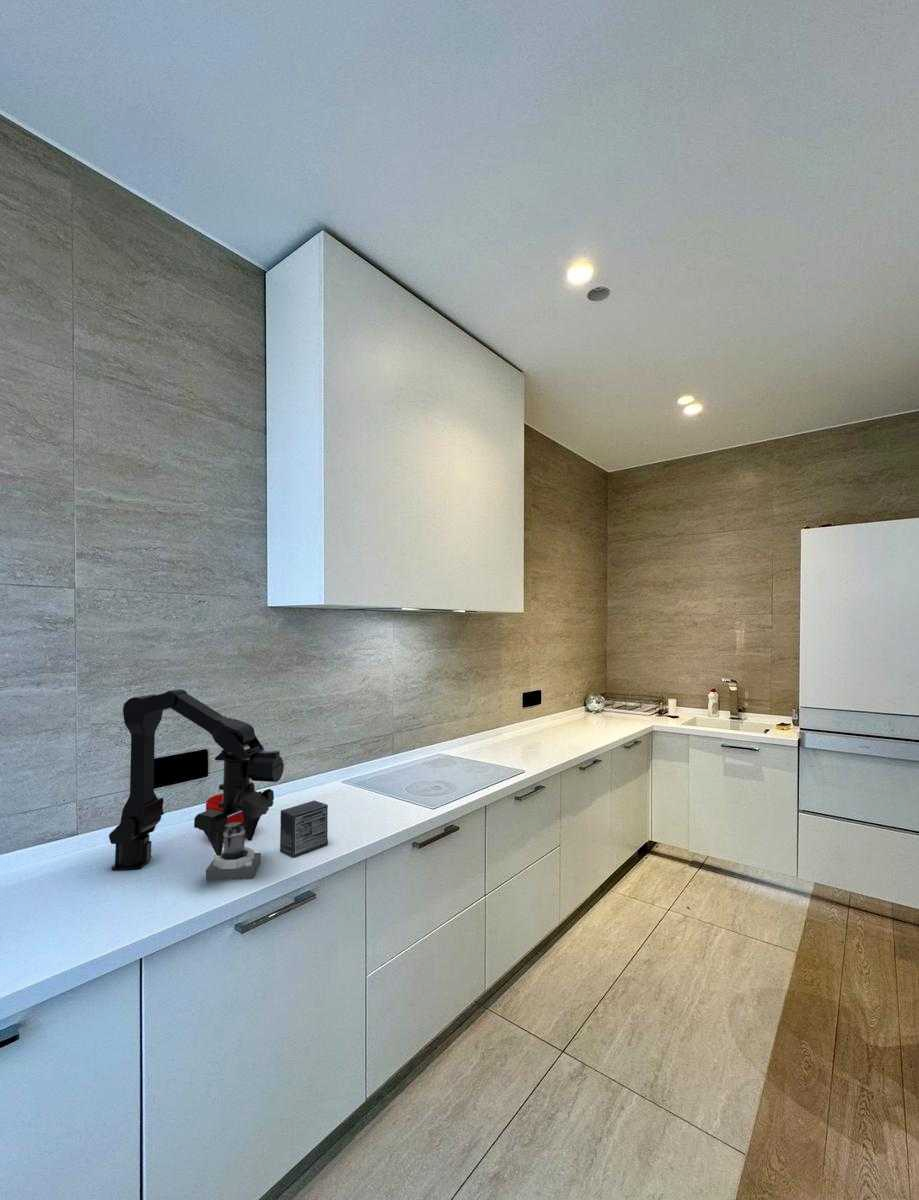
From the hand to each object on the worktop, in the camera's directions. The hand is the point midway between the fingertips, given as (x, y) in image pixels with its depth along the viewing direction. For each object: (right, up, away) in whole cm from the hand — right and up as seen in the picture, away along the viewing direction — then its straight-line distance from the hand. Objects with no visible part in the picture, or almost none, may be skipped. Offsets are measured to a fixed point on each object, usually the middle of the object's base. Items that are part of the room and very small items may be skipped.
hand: (234, 847), depth 125 cm
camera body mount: (0, -6, 0) cm, 6 cm away
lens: (0, -3, 0) cm, 3 cm away
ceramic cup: (-9, -7, +23) cm, 25 cm away
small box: (+12, -7, +13) cm, 19 cm away
